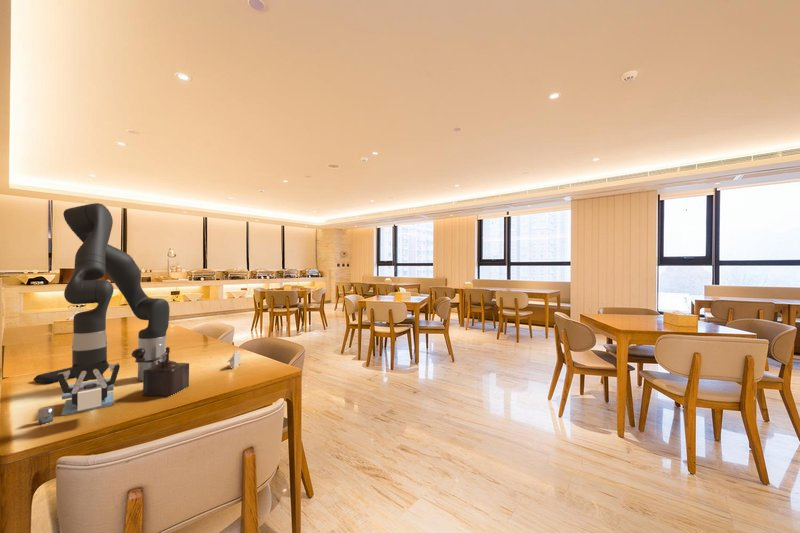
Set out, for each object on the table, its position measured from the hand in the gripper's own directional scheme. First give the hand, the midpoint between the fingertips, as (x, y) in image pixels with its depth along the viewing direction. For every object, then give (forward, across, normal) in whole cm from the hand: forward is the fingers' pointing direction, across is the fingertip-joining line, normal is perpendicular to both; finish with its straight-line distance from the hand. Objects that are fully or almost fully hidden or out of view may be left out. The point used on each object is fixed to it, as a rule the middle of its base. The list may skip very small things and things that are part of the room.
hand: (90, 402), depth 97 cm
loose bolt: (+6, +10, -7) cm, 13 cm away
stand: (+6, +1, -16) cm, 17 cm away
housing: (0, 0, 0) cm, 0 cm away
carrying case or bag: (+7, +10, -58) cm, 59 cm away
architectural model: (+7, -48, -28) cm, 56 cm away
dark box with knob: (+6, -18, -12) cm, 23 cm away
